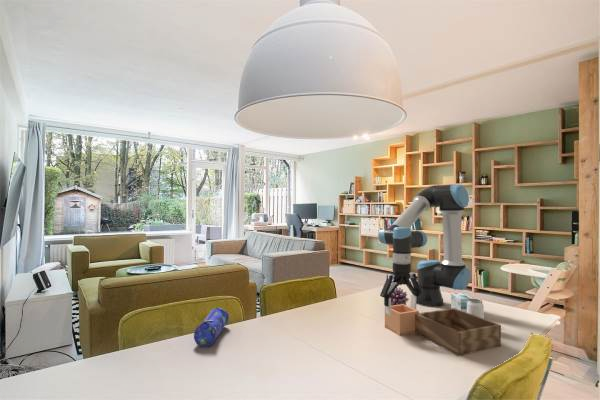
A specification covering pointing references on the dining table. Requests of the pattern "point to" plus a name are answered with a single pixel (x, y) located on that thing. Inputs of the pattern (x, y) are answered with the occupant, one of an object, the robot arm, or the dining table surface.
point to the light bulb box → (459, 301)
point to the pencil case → (211, 327)
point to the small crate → (401, 319)
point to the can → (475, 307)
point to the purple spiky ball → (398, 297)
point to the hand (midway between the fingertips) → (400, 312)
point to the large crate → (458, 331)
